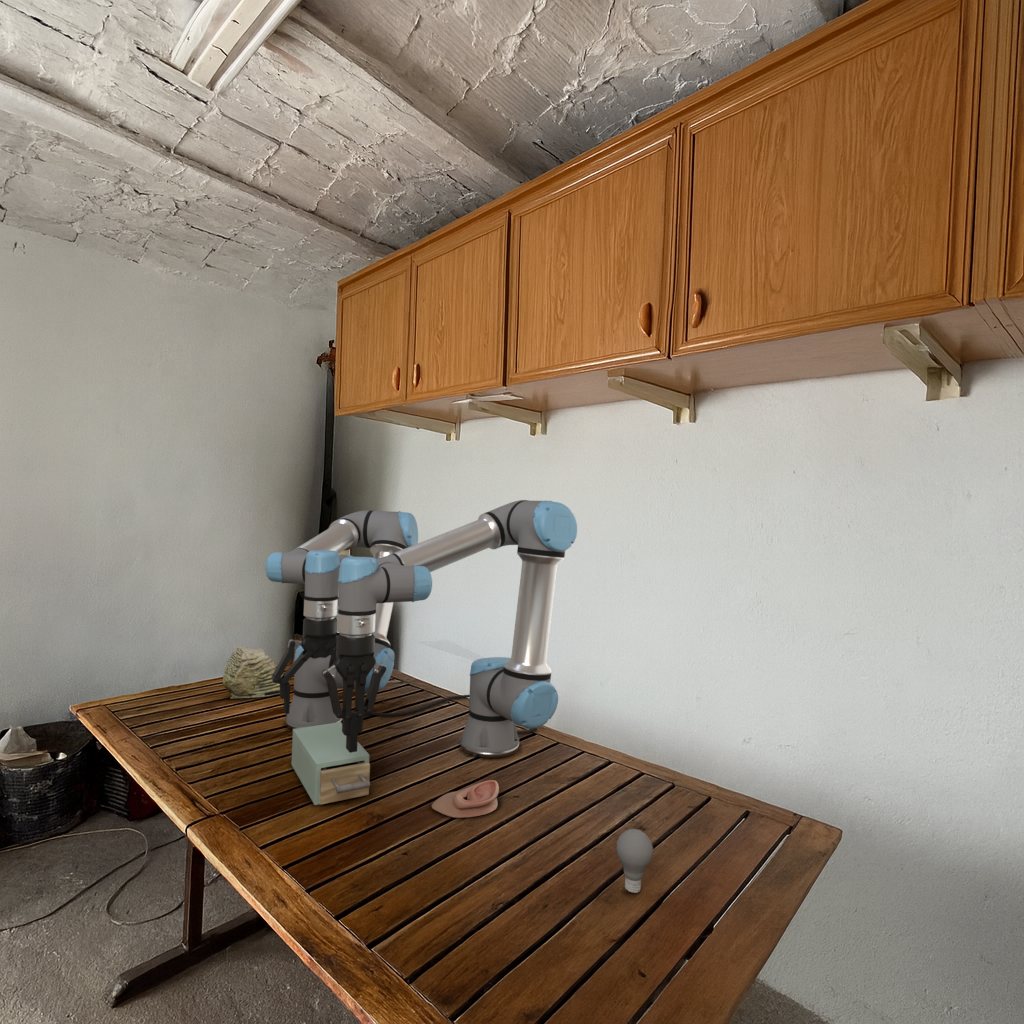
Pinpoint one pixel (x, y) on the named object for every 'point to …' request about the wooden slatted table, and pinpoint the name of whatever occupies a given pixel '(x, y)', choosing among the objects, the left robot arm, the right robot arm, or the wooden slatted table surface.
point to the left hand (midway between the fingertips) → (317, 708)
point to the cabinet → (321, 754)
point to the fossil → (250, 674)
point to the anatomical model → (469, 800)
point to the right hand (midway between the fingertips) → (351, 749)
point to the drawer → (344, 782)
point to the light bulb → (634, 857)
